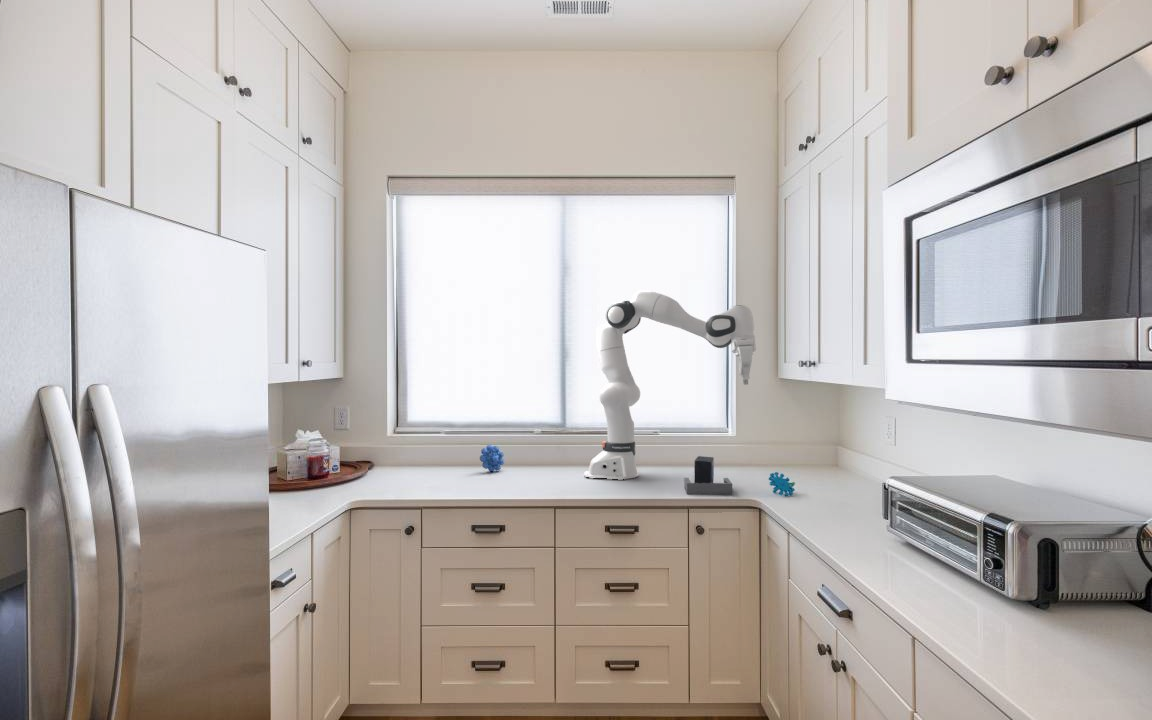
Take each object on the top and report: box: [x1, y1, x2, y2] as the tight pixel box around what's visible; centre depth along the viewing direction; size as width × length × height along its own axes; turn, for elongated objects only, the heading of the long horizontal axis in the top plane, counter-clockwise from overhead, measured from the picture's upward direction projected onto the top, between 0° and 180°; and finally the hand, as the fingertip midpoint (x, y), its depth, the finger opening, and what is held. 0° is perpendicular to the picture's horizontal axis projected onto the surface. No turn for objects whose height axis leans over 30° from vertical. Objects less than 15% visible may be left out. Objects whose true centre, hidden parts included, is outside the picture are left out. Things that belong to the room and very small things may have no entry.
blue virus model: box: [768, 471, 796, 497], centre depth 213 cm, size 11×6×10 cm
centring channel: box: [683, 477, 733, 496], centre depth 217 cm, size 16×10×4 cm, turn 85°
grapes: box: [479, 444, 505, 472], centre depth 256 cm, size 12×7×12 cm, turn 126°
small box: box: [693, 455, 715, 483], centre depth 227 cm, size 11×6×10 cm, turn 161°
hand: (746, 381), depth 224 cm, fingers open, 8 cm apart
